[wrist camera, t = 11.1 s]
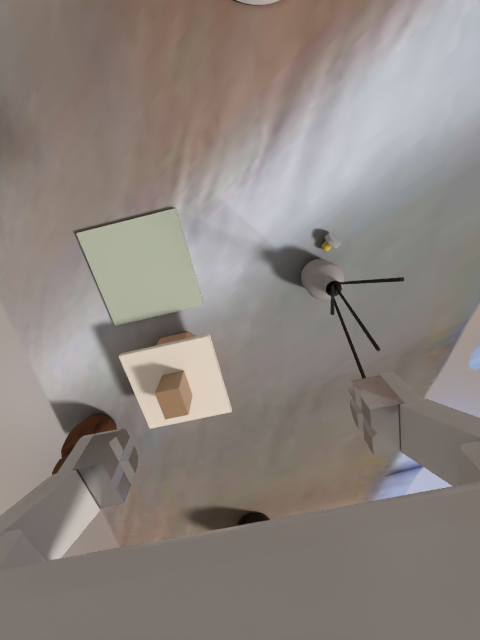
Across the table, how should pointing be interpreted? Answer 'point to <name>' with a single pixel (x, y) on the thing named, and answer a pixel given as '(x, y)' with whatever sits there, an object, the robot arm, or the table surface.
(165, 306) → the mat
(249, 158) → the table surface
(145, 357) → the lid
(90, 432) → the wooden figurine
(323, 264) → the reed diffuser
